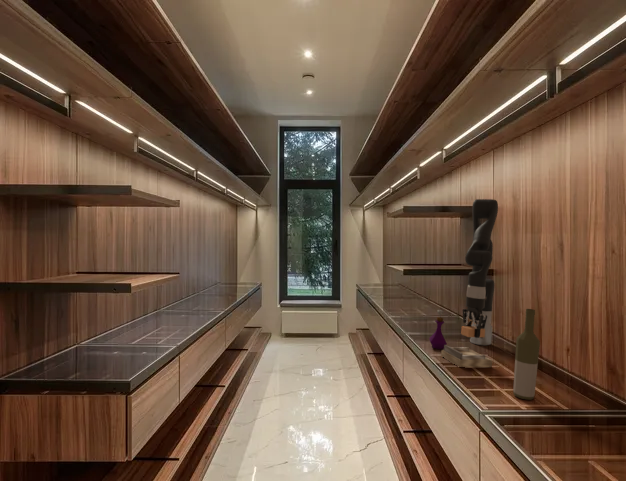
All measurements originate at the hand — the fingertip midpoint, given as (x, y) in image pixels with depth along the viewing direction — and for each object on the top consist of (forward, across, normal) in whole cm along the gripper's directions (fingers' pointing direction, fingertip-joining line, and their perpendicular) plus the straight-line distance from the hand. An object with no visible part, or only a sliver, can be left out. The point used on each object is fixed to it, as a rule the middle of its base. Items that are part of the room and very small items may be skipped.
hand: (472, 335), depth 171 cm
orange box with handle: (+1, 0, 0) cm, 1 cm away
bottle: (+12, -36, +5) cm, 38 cm away
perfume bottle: (+11, +20, +4) cm, 23 cm away
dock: (+11, 0, +2) cm, 12 cm away
